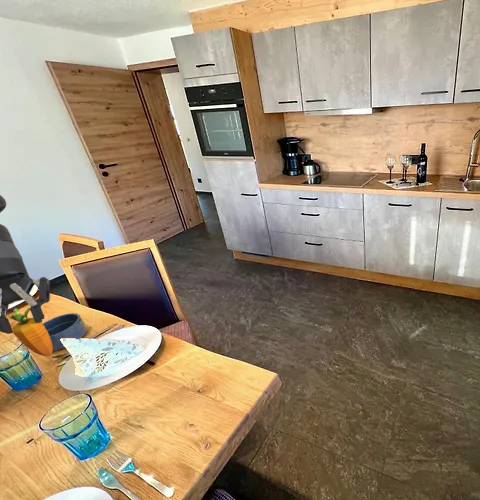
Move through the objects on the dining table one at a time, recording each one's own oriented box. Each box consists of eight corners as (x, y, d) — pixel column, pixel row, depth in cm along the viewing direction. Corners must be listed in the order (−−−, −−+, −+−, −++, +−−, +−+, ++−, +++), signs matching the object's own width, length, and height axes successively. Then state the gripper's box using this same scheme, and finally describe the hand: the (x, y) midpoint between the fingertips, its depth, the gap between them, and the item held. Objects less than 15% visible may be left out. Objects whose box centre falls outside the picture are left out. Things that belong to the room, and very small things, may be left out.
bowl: (35, 357, 91) (24, 344, 88) (49, 333, 101) (40, 320, 98) (82, 343, 96) (73, 330, 93) (92, 321, 105) (84, 309, 102)
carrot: (41, 353, 75) (5, 307, 67) (65, 345, 77) (33, 300, 69) (33, 367, 71) (-6, 320, 64) (59, 358, 73) (24, 312, 65)
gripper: (-58, 270, 62) (-32, 341, 60) (33, 247, 70) (58, 309, 68) (-36, 281, 68) (-12, 345, 66) (45, 259, 77) (69, 315, 74)
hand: (24, 326), depth 67 cm, fingers closed on carrot, 4 cm apart
